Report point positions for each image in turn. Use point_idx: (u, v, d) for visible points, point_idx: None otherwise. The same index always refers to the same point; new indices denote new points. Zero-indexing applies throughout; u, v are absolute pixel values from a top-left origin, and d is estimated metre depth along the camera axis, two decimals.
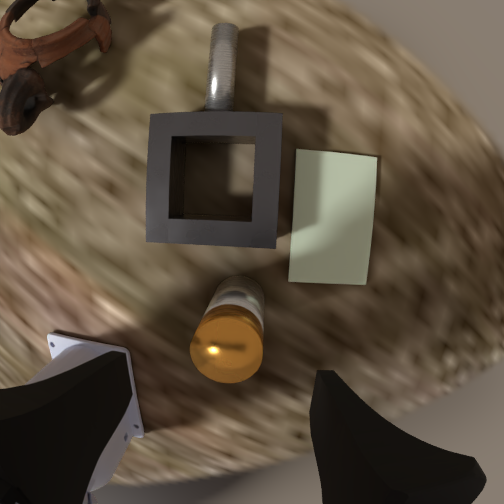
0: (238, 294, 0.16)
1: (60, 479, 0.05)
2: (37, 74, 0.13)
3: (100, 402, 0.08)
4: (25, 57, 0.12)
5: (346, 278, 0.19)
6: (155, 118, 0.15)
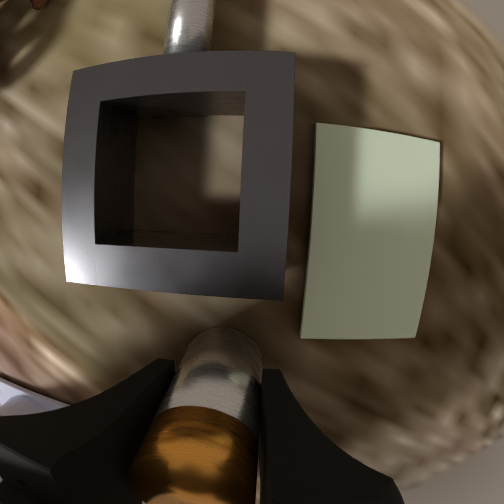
0: (215, 376, 0.09)
1: (120, 501, 0.05)
2: None
3: (153, 414, 0.08)
4: None
5: (389, 330, 0.11)
6: (79, 76, 0.08)
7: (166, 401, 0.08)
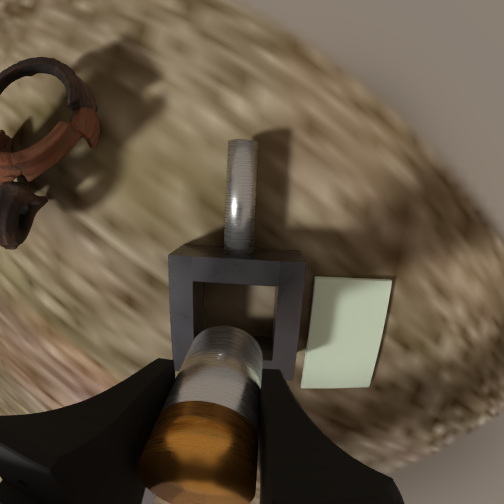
0: (214, 372, 0.09)
1: (120, 501, 0.05)
2: (25, 188, 0.14)
3: (153, 414, 0.08)
4: (8, 170, 0.13)
5: (352, 383, 0.20)
6: (174, 260, 0.16)
7: (169, 398, 0.09)
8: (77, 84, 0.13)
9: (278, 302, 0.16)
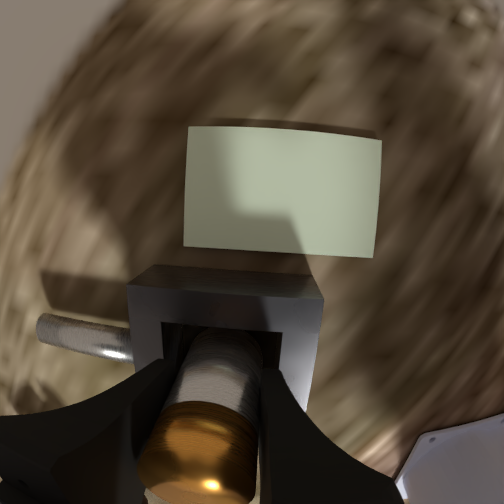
0: (214, 372, 0.09)
1: (120, 501, 0.05)
2: None
3: (153, 414, 0.08)
4: None
5: (372, 170, 0.12)
6: None
7: (169, 398, 0.09)
8: None
9: (183, 322, 0.11)
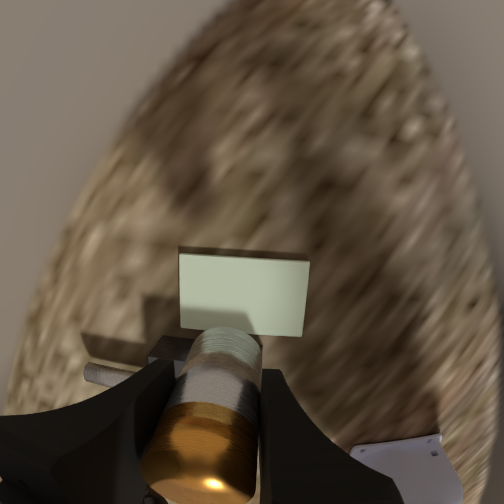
0: (218, 373, 0.10)
1: (120, 501, 0.05)
2: None
3: (153, 414, 0.08)
4: None
5: (301, 283, 0.19)
6: None
7: (173, 398, 0.09)
8: None
9: None
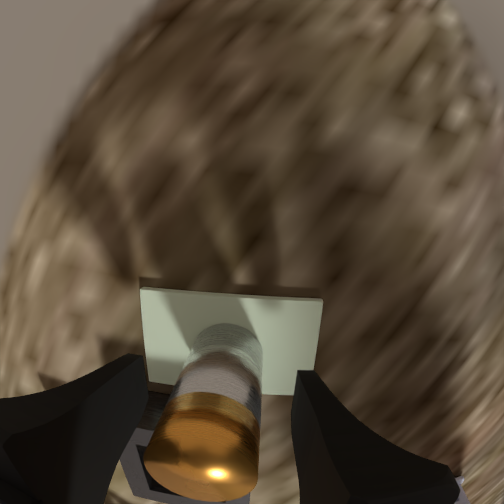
0: (220, 366, 0.10)
1: (81, 488, 0.05)
2: None
3: (118, 406, 0.08)
4: None
5: (311, 329, 0.13)
6: (136, 493, 0.13)
7: (176, 389, 0.09)
8: None
9: None
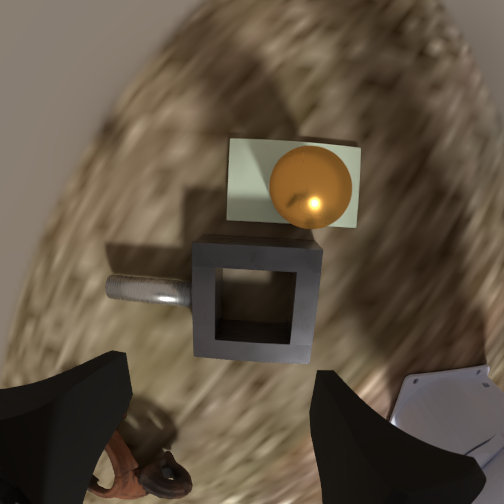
0: None
1: (60, 479, 0.05)
2: (143, 469, 0.19)
3: (100, 402, 0.08)
4: (129, 479, 0.18)
5: (354, 168, 0.18)
6: (198, 352, 0.18)
7: None
8: None
9: (231, 267, 0.17)
